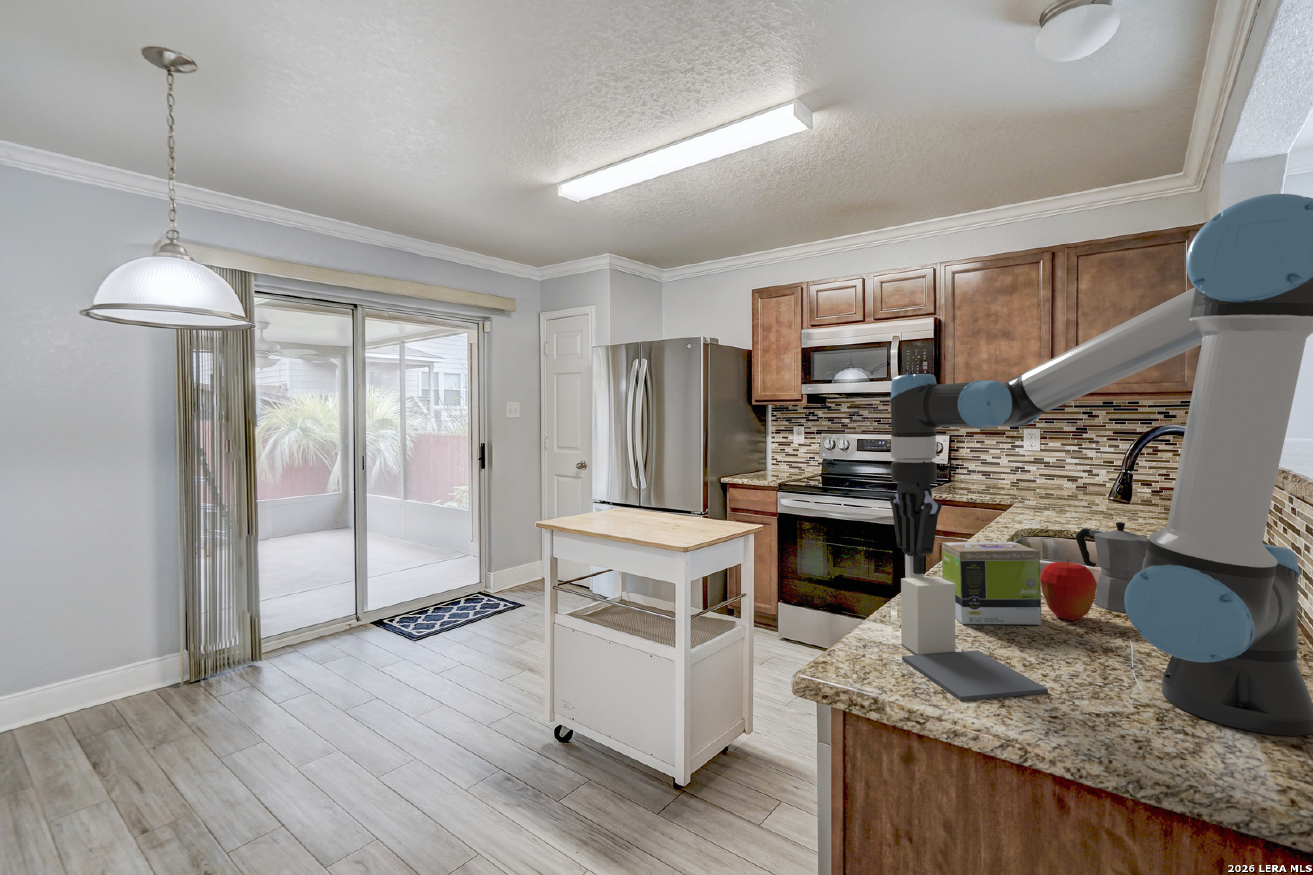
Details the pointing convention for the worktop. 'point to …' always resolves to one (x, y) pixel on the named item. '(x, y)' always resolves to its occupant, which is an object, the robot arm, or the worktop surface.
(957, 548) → the tea box
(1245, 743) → the worktop surface
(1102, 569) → the coffeepot
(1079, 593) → the apple
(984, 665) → the mat
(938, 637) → the cream block
